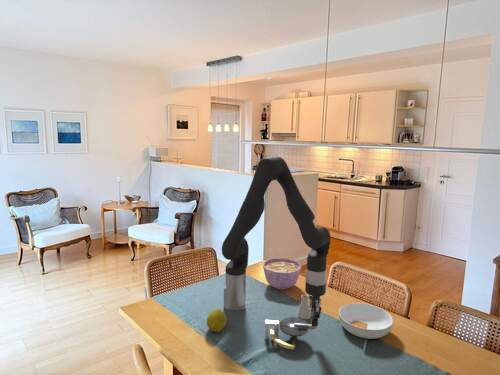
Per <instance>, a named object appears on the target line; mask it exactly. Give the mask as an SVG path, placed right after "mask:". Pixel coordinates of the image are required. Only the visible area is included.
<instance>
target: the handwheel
mask: <svg viewBox="0 0 500 375" xmlns="http://www.w3.org/2000/svg"><path fill="white" fill-rule="evenodd" d="M310 319H311V318H310ZM310 322H311V323H309V322H307V321H306V319H302V318H299V317H295V316H294V317H293V316H290V317H284V318H283V319H281V320H280V322H279V331H280V332H282V333H283V334H285V335H287V336H289V341H290V342H291V343H288V342H285V341H283V340H281V339H279V337H278V338H277V337H276V336H275V329H273V328H271V329H269V335H270V338H271V339H272V341H273V342H274V344H276V345H278V346H280V347H282V348H284V349H289V350H294V349H296V343H297V342H298V340H299V337H302V336H305V335H306V334H307V333H308V332H309V330H310V329H309V328H312V329H317V328H318V326H312V319H311V320H310Z"/></svg>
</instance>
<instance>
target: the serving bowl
mask: <svg viewBox="0 0 500 375" xmlns="http://www.w3.org/2000/svg"><path fill="white" fill-rule="evenodd" d="M338 318H339V321H340V323H341V325H342V327H343V328H344V329H345V330H346V331H347V332H348V333H350V334H352V335H353V336H357V337H358V338H362V339H369V340H370V339H372V340H373V339H380V338H383V337H385V336H386V335H388V333H390V331H391V329H392V328H393V324H394V319H393V317H392V315H391V314H390V313H389V312H387V310H385V309H383V308H381V307H379V306H376V305H374V304H369V303H365V302H364V303H363V302H352V303H347V304H345V305H343V306H341V307H340V308H339V310H338ZM353 322H360V323H362V324H363V323H364V324H367V325H366V328H364V327H360V326H356V325H354V324H352V323H353Z"/></svg>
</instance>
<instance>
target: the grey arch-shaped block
mask: <svg viewBox="0 0 500 375" xmlns="http://www.w3.org/2000/svg"><path fill="white" fill-rule="evenodd" d="M264 322H265V323H264V340H266V341H267V340H268V341H269V335H270V329H269V328H270V327H274V335H275V336H276V337H277V338H278V339H279V334H280V333H279V331H280V322H279V320H277V319H276V320H274V319H265V320H264Z"/></svg>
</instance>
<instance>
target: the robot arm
mask: <svg viewBox="0 0 500 375" xmlns="http://www.w3.org/2000/svg"><path fill="white" fill-rule="evenodd" d="M272 181H276V182H277V183H278V184H279V185H280V186H281V188H282V190H283V192H284V196H285V201H286V206H287V208H288V211H289V213H290V214H291V216H292V217H293V219H294V221H295V222H296V223H297V226H298V228H299V232H300V234H301V238H302V239H303V242H304V243H305V245H306V246H307V247H309V248H310V249H311V250H310V252H309V253H308V254H307V256H306V258H307V259H306V271H305V283H304V284H305V287H304V288H305V289H304V291H305V293H306V295H308V296H309V298H308V299H309V301H308V305H309V309H310V312H311V318H310V321H311V319H312V326H317V327H318V325H319V319H320V318H321V313H322V307H321V304H322V299H321V297H322V296H324V295H325V294H326V293H327V292H326V290H327V257H328V254H329V250H330V246H331V239H332V238H331V232H330V230H329V229H328V228H327V227H325V226H321V225H320V226H317V227H316V226H315V223H314V220H315V218H316V217H315V214H314V213H313V211H312V209H311V208H310V206H309V205H308V203H307V202H306V200H305V199H304V197H303V195H302V194H301V192H300V190H299V189H300V188H298V186H297V183H296V181H295V179H294V177H293V175H292V173H291V169H290V168H289V166H288V163H287V162H286V161H285V159H284V158H282V157H281V156H278V155H277V156H276V155H275V156H267V157H266V156H265V157H263V158H261V159H260V160H259V161H258V163H257V165H256V168H255V171H254V173H253V177H252V180H251V184H250V185H249V189H248V191H247V193H246V196H245V198H244V200H243V202H242V204H241V207H240V209H239V211H238V214H237V216H236V218H235V219H234V220H235V221H234V222H233V225H232V226H231V229H230V230H229V231H228V233H227V236H226V237H225V238H224V241H223V242H222V245H221V253H222V256H223V258H224V259H225V260H229V262H227V264H226V265H225V287H224V288H223V308H224V309H225V310H228V311H244V310H245V309H246V306H247V305H246V301H247V300H246V299H247V298H246V297H247V296H246V295H247V292H246V291H247V289H246V287H247V286H246V285H247V283H246V281H247V280H246V279H247V278H246V277H247V267H248V265H249V243H248V241H247V239H246V238H245V237H247V235H248V233H251V231H252V230H253V229H254V228H255V227H256V225H257V224H258V222H259V221H260V219H261V218H262V216H263V213H264V212H265V211H264V210H265V207H266V203H265V202H266V201H265V195H266V191H267V190H268V187H269V186H270V184H271V182H272Z"/></svg>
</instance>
